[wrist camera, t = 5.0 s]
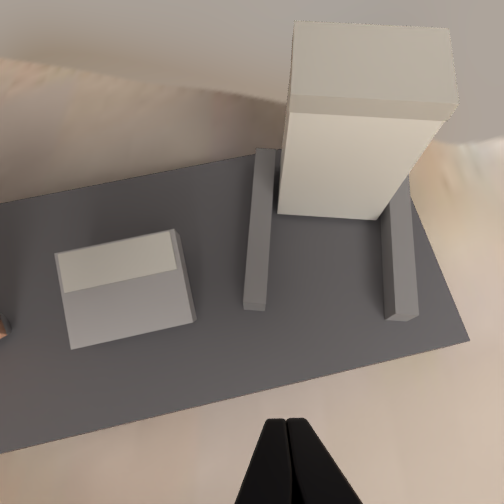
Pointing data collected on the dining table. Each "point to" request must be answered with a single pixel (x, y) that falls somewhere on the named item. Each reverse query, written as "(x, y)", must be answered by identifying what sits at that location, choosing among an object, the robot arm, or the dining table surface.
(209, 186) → the control console
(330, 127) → the slider button
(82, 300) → the rocker switch
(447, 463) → the dining table surface
